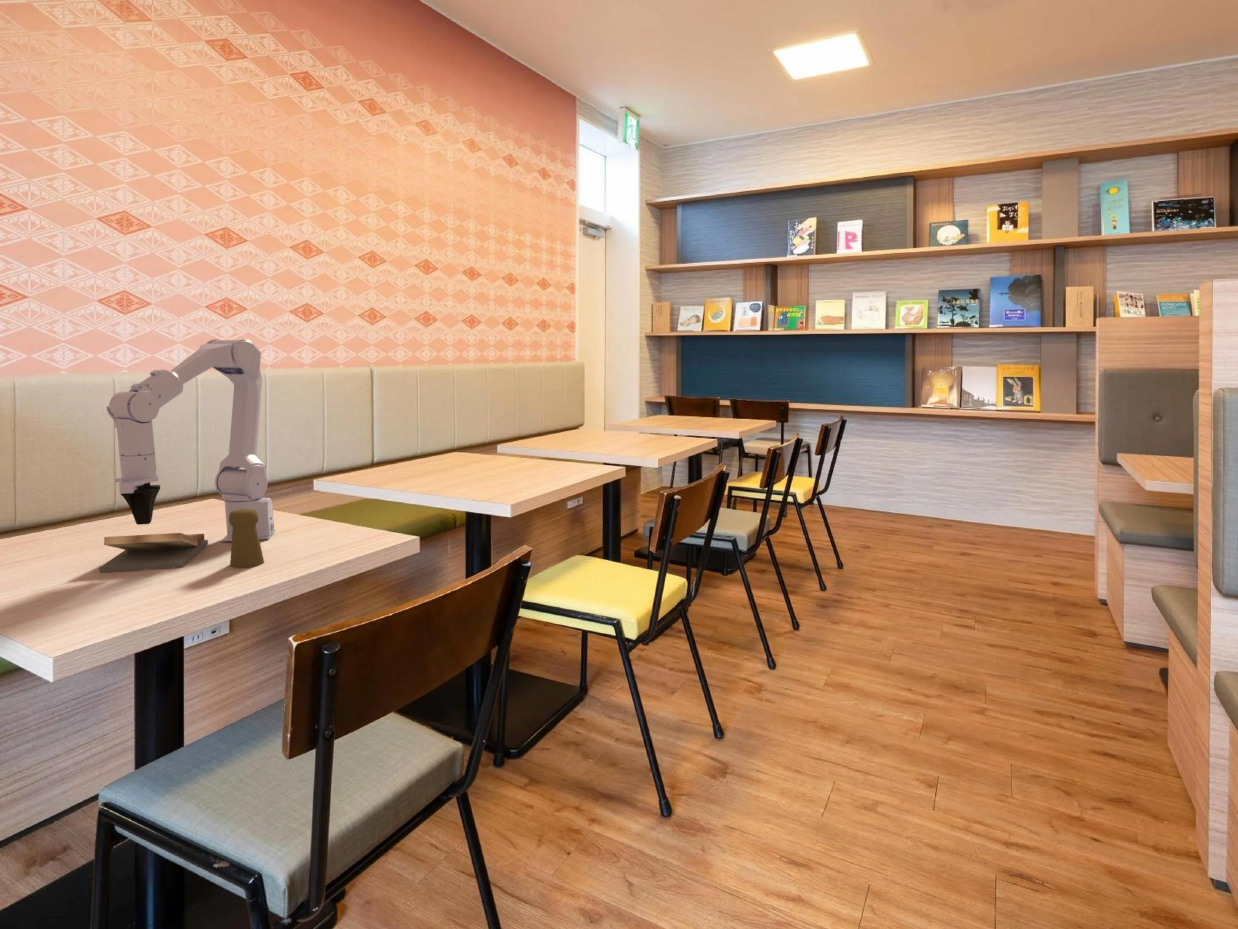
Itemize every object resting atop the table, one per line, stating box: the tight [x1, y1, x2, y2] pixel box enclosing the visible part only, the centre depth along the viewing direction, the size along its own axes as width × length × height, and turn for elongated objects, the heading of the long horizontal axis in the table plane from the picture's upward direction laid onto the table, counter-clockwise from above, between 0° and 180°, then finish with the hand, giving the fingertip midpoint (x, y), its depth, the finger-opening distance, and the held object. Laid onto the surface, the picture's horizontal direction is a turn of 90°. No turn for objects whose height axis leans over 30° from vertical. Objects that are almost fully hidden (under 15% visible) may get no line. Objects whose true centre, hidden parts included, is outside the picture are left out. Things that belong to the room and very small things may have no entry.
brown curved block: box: [187, 533, 206, 546], centre depth 153 cm, size 13×4×2 cm, turn 105°
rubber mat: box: [98, 539, 209, 573], centre depth 147 cm, size 14×18×1 cm
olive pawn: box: [229, 508, 265, 569], centre depth 142 cm, size 6×6×11 cm
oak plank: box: [103, 532, 198, 551], centre depth 145 cm, size 13×11×2 cm
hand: (143, 523), depth 141 cm, fingers closed
